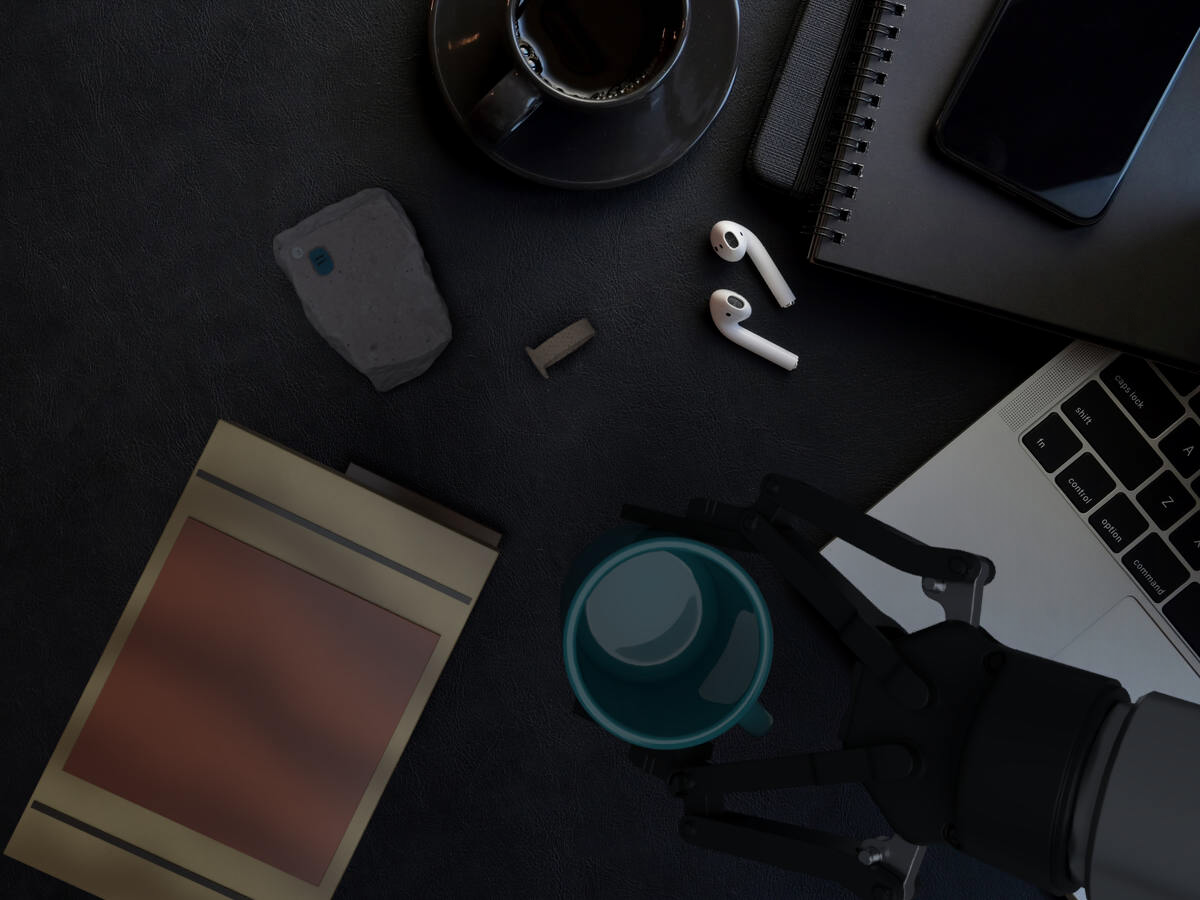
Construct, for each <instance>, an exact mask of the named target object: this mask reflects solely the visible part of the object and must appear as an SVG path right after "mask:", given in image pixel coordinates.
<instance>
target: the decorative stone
mask: <svg viewBox="0 0 1200 900" xmlns="http://www.w3.org/2000/svg"><path fill="white" fill-rule="evenodd" d="M272 252H273V255H274V259H275V262H276V264H277V265H278V267H280V269H281V271H282V272H283V273H284V274H285V276H286V277H287V279H288V281H290V283H291V284H292V286H293V287H294V289H295V294H296V295H297V297H298V299H299V301H300V302H301V305H302V309H303V311H304V316H305V317H306V320H307V321H308V322H309V324H310V325H311V326H312V327H313V328H314V330H315V331H316V332H317V333H318V334H319V335H320V336H321V338H323V339H324V340H325V341H326V342H327V344H328V345H329V347H330V348H332V349H334V350H335V351H336V352H337V353H338V354H339V356H341V357H342V358H343V359H344V360H345V361H347V363H349V364H350V365H351V366H352V367H353V368H354V369H356V370H357V371H358V372H360V373H361V374H363V375H365V376H366V377H367V378H368V379H369V381H370V382H371V383H372V385H373V387H374V389H375V390H376V391H377V392H381V393H383V392H388V391H390V390H393V389H394V388H396V387H397V386H399V385H401V384H405V383H406V382H409V381H412V380H413V379H415V378H417V377H420V376H422V375H423V374H424V373H425V372H426V371H427V370H429V368H430V367H432V365H433V363H434V361H435V360H436V359H437V358H438V357H439V356H440V355H441V354H442V353H443V352H444V350H445V349H446V348H447V347H448V345H449V343H450V342H451V341H452V340H453V326H452V321H451V320H450V313H449V308H448V305H447V304H446V302H445V299H444V298H443V296H442V295H441V293H439V289H438V286H437V284H436V282H435V280H434V277H433V273H432V269H431V266H430V264H429V262H428V261H427V260H426V258H425V253H424V252H425V251H424V249H423V247H422V245H421V243H420V242H419V239H418V236H417V232H416V229H415V226H414V225H413V223H412V221H411V219H409V217H408V215H407V212H406V211H405V209H404V208H403V206H402V205H401V203H400V202H399V201H398V199H397V198H395V197H394V196H393V195H392V193H391V192H390V191H389V190H388V189H387V190H386V189H384V188H382V187H370V188H367V187H366V188H364V189H362V190H359V191H358V192H357V193H355V194H354V195H350V196H348V197H346V198H343V199H342V200H341V201H338V202H334V203H332V204H329V205H327V206H325V207H323V208H322V209H320V210H319V211H317V212H315V213H313V214H311V215H309V216H307V217H306V218H304V219H302V220H301V221H300V222H299V221H298V223H297V224H296V225H295V226H293V227H291V228H287V229H285V230H283V231H281V232H279V233H278V234H277V235H275V237H274V239H273V241H272Z"/></svg>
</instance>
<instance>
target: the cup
mask: <svg viewBox="0 0 1200 900" xmlns="http://www.w3.org/2000/svg"><path fill="white" fill-rule="evenodd" d="M561 585H562V586H561V590H560V595H559V605H558V606H559V607H558V608H559V610H558V612H559V624H560V636H561V647H562V648H561V649H562V657H563V665H564V668H565V674H566V676H567V679H568V682H569V685H570V687H571V689H572V691H573V693H574V695H575V698H576V697H577V699H578V700H579V702H580V703H581V705H582V706H583V708H584V709H585V710H586V711H587V713H588V714H589V715H590V716H591V717H592V718H593V719H594V720H595V721H596V722H597V723H598V724H599V725H600V726H602V727H603V728H602V727H601V728H602V729H604V730H605V731H607V732H609V733H610V734H611V735H613V736H615V737H616V738H618V739H620V740H622V741H624V742H627V743H629V744H631V743H632V744H634V745H638V746H642V747H646V748H651V749H660V750H674V749H683V748H689V747H693V746H696V745H700V744H703V743H705V742H708V741H709V742H710V741H712V740H714V739H716V738H718V737H720V736H721V735H723V734H725V733H727V732H728V731H729V730H730V729H731V728H734V726H736V725H737V726H739V728H741V729H742V730H743V731H744V732H745V733H747V734H748V735H750V736H751V737H753V738H754V739H761V738H764V737H765V736H767V735H768V734H770V732H771V731H772V729H773V727H774V725H775V716H773V714H772V713H771V712H770V710H769V709H768V708H767V707H766V706H765V705H764V704H763V703H762V702H761V701H760V700H759V697H760V695H761V694H762V692H763V689H764V688H765V685H766V683H767V681H768V678H769V674H770V670H771V668H772V661H773V657H774V629H773V622H772V618H771V615H770V610H769V607H768V605H767V602H766V600H765V597H764V595H763V593H762V592H761V590H760V588H759V586H758V585H757V583H756V581H755V580H754V579H753V577H752V576H751V575H750V574H749V572H748V571H746V569H745V568H744V567H743V566H742V565H741V564H740V563H739V562H737V560H735V559H734V558H732V557H731V556H730V555H729V554H727V553H725V552H724V551H722V550H720V549H719V548H717V547H715V546H713V545H712V544H711V545H710V543H707V542H704V541H700V540H698V539H695V538H693V537H689V536H686V535H683V534H679V533H675V532H669V531H665V530H662V529H658V528H655V527H651V526H648V525H644V524H641V523H637V522H633V523H628V524H623V525H619V526H617V527H614V528H611V529H609V530H607V531H604V532H603V533H601V534H599V535H598V536H596V537H595V538H594V539H592V540H590V542H589V543H588V544H587V545H585V546H584V547H583V548H582V549H581V551H579V552H578V554H577V555H576V556H575V558H574V559H573V561H572V562H571V564H570V566H569V568H568V569H567V572H566V574H565V576H564V578H563V582H562V584H561ZM600 726H599V727H600Z"/></svg>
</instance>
